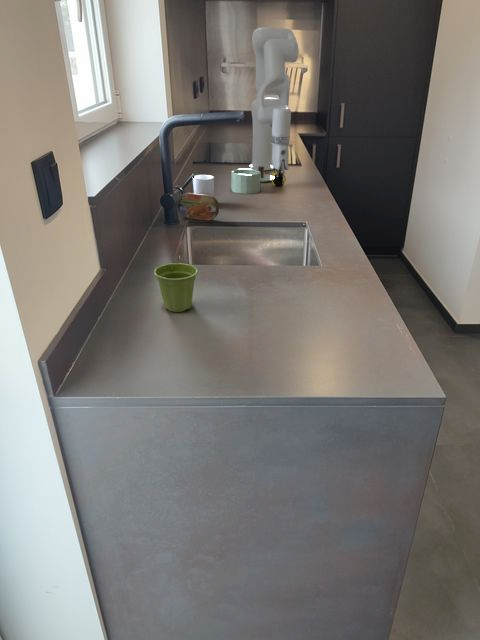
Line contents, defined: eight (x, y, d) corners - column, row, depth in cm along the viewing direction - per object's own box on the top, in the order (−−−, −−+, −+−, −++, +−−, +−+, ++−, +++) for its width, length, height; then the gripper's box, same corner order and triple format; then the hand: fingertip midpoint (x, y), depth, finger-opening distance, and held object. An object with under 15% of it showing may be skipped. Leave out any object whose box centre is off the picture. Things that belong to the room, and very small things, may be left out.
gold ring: (272, 186, 215) (272, 172, 212) (270, 185, 217) (271, 170, 214) (285, 186, 216) (286, 172, 213) (284, 184, 218) (284, 170, 215)
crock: (228, 187, 212) (228, 169, 208) (255, 186, 215) (256, 168, 211) (234, 194, 202) (235, 175, 198) (263, 193, 205) (263, 174, 201)
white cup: (218, 203, 189) (217, 176, 184) (207, 208, 183) (207, 180, 178) (200, 200, 192) (199, 173, 187) (189, 205, 186) (188, 177, 181)
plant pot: (159, 297, 116) (156, 262, 112) (199, 297, 117) (198, 262, 113) (155, 316, 108) (151, 279, 104) (198, 315, 109) (197, 279, 105)
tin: (177, 216, 172) (175, 192, 168) (181, 214, 175) (180, 190, 171) (216, 222, 168) (216, 197, 164) (220, 220, 171) (220, 195, 166)
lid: (243, 176, 230) (243, 164, 227) (270, 176, 234) (270, 163, 231) (250, 183, 220) (251, 169, 217) (278, 182, 223) (279, 169, 220)
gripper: (295, 143, 201) (292, 189, 211) (283, 137, 214) (280, 181, 224) (277, 143, 200) (275, 190, 209) (266, 137, 212) (265, 181, 222)
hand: (278, 185), depth 216 cm, fingers closed on gold ring
